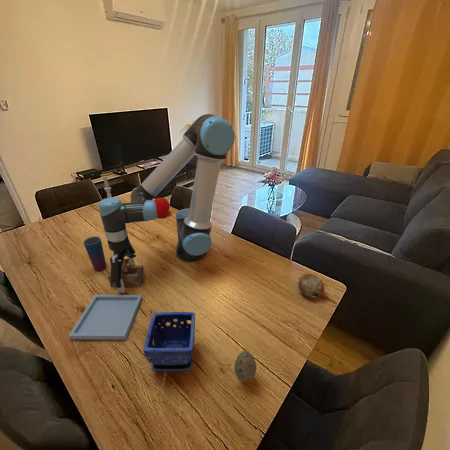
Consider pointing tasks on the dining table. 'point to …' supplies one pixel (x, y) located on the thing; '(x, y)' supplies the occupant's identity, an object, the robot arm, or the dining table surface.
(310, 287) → the bread roll
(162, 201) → the red apple
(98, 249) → the cup
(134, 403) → the dining table surface
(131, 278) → the brown hollow block
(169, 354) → the flower pot
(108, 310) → the tray
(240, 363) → the decorative egg
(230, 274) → the dining table surface
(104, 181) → the candlestick
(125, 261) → the mallet
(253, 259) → the dining table surface
